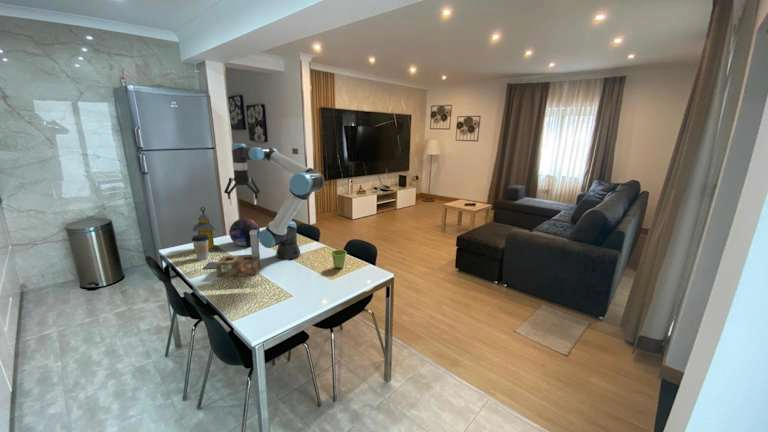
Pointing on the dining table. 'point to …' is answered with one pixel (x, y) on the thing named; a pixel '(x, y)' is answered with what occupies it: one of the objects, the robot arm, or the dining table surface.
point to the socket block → (237, 266)
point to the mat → (210, 265)
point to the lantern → (206, 230)
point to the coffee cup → (201, 246)
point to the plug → (254, 244)
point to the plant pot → (338, 257)
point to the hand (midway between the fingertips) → (243, 204)
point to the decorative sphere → (242, 231)
